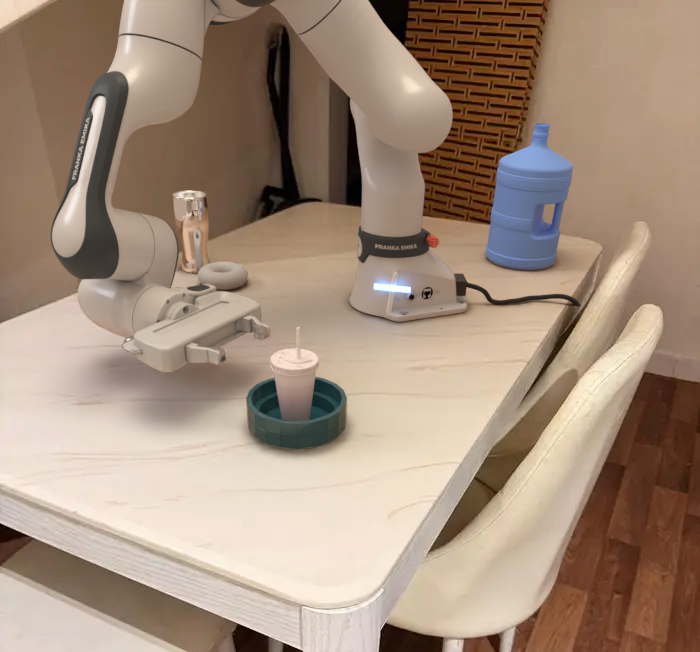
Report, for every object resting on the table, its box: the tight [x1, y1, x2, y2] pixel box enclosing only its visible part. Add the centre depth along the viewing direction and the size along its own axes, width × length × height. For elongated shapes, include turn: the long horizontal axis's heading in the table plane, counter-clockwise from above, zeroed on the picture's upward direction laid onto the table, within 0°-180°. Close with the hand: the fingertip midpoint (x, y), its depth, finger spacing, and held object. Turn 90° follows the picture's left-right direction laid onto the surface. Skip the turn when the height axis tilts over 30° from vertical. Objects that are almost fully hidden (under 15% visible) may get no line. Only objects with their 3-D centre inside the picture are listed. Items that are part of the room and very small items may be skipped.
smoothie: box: [269, 326, 320, 421], centre depth 92 cm, size 6×6×14 cm
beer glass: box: [172, 189, 211, 274], centre depth 144 cm, size 7×7×15 cm
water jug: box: [485, 122, 574, 271], centre depth 151 cm, size 16×16×28 cm
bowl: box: [245, 376, 348, 450], centre depth 95 cm, size 13×13×4 cm
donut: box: [197, 261, 249, 291], centre depth 140 cm, size 10×4×10 cm
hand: (245, 345), depth 94 cm, fingers open, 8 cm apart
